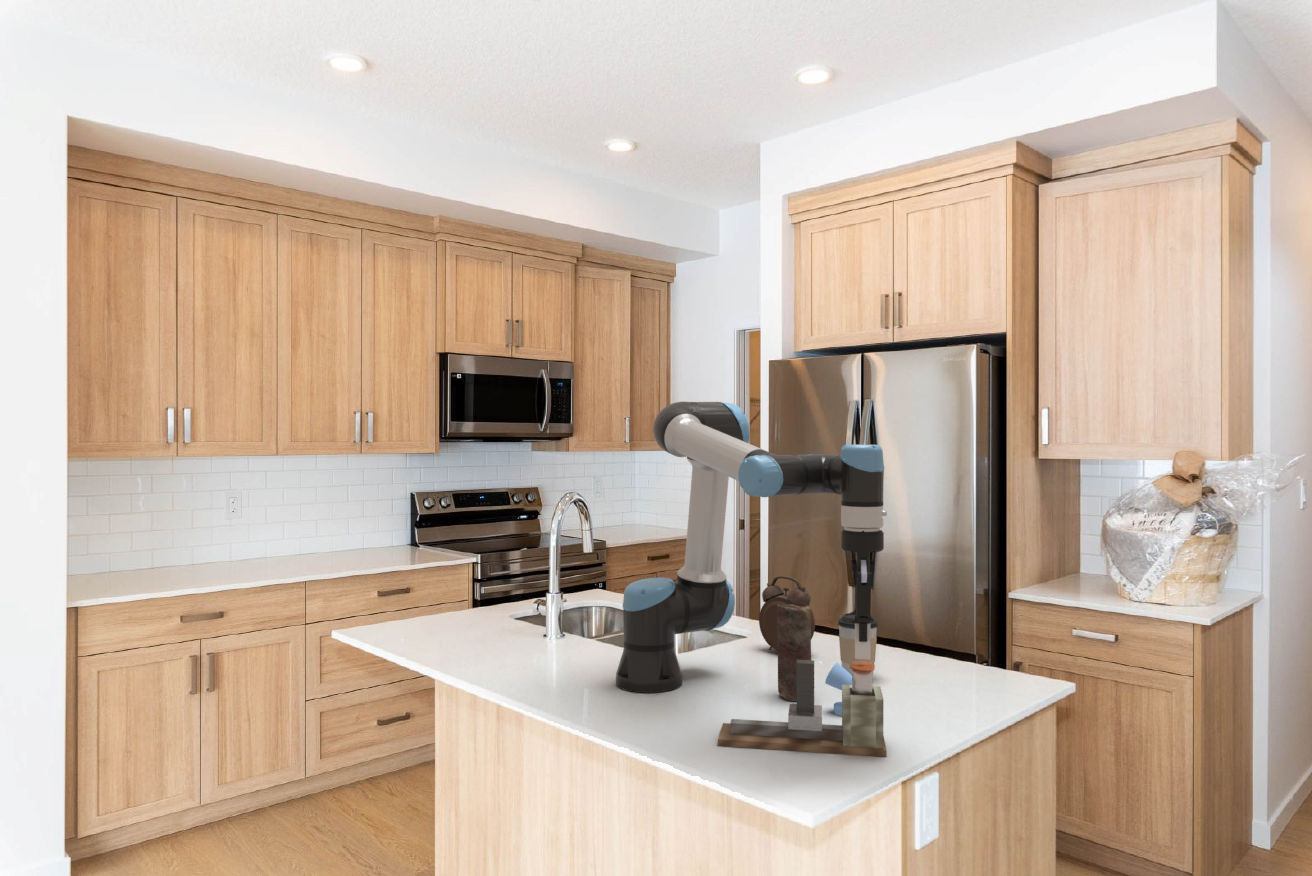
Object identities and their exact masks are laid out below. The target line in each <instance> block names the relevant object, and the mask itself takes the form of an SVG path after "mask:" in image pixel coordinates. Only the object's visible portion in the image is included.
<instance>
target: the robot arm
mask: <svg viewBox="0 0 1312 876" xmlns="http://www.w3.org/2000/svg"><path fill="white" fill-rule="evenodd" d="M749 424H750V423H749V420H748V417H747V416H746V415H745V412H744V411H743V409H742V408H741V407H740V406H738V405H736V404H734V403H732V402H731V403H730V402H724V401H677V402H673V403H670V404H668V405H666V406H664V407H663V408H662V409H661V410H660V411H659V413H657V415H656V416H655V419H654V421H653V427H652V432H653V433H652V434H653V437H654V438H653V439H654V440H655V442H656V444H657V445H658V446H659V448H661V449H662V450H663V451H664V452H666V453H668V454H671V455H672V456H673V457H674V456H675V457H678V458H686V460H687V461H688V462H689V463H690V465H691V466H692V468H691V469H692V470H691V480H690V481H691V482H690V492H689V493H690V494H689V504H688V516H687V517H688V518H687V531H686V542H685V553H684V564H683V566H682V567H681V568H679V569H678V570H677V575H676V582H675V581H674V580H673V579H671V578H669V577H659V576H658V577H649V578H643V579H639V580H636V581H634V582H631V583H629V584H628V585H627V586H626V587H625V589H624V592H623V602H622V609H623V619H622V620H623V622H622V623H623V650H622V652H621V657H620V661H619V662H618V667H617V670H616V672H615V673H616V674H615V685H616V686H617V687H619V688H620V689H622V690H626V691H628V692H635V693H662V692H668V691H672V690H675V689H677V688H680V687H681V686H682V685H683V672H682V669H681V667H680V663H679V659H678V657H677V653H676V649H675V635H681V634H687V633H695V632H703V631H704V632H706V631H708V632H709V631H711V630H713V629H719V628H722V627H724V626H726V624H727V623H729V621H730V620H731V618H732V616H733V613H734V610H735V604H736V599H735V597H736V596H735V593H733V591H734V587H732V585H731V583H730V582H729V581H728V580H727V574H726V573H725V572H724V571H723V570H722V557H723V547H724V536H725V535H724V533H725V523H726V515H727V514H726V511H727V503H728V502H727V501H728V491H729V489H728V488H729V479H730V478H731V479H733V480H735V481H738V483H739V486H740V487H741V488H742V489H743V492H744V493H745V494H747V496H751V497H761V498H771V497H781V496H782V497H783V496H797V495H818V494H819V495H823V494H824V495H825V494H826V495H827V494H828V495H839V496H840V495H841V496H840V497H841V501H840V503H841V505H840V522H841V523H840V525H841V527H842V528H844V529H842V530H841V533H840V535H841V539H840V541H841V549H842V550H843V551H845V552H850V553H852V552H853V553H855V559H850V567H851V571H852V582H853V586H854V610H853V611H854V613H855V619H852V623H855V659H871V635H870V622H871V621H873V619H874V617H871V616H872V614H871V613H872V611H871V610H872V604H871V603H872V586H873V585H874V582H873V581H874V577H873V576H874V571H875V562H874V559H871V556H870V553H879V552H882V551H883V550H884V548H885V547H884V545H885V544H884V539H885V538H884V537H885V536H884V532H883V530H882V529H881V528H883V527H884V518H883V517H887V516H888V512H887V511H886V510H884V478H885V476H884V475H885V464H884V452H883V449H882V447H881V446H880V445H878V444H844V445H843V446H842V447H841V449H840V451H841V452H840V454H828V453H827V454H826V453H810V454H775V453H773V452H770V451H767V450H764V449H763V448H760V447H758V446H755V445H753V444H751V443H749V442H750V436H751V429H750V425H749Z"/></svg>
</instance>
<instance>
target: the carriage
mask: <svg viewBox="0 0 1312 876" xmlns="http://www.w3.org/2000/svg"><path fill="white" fill-rule="evenodd" d="M795 702H796V703H789V705H788V706H789V707H788V713H787V715H788V716H787V717H788V718H787V719H788V720H787V721H788V729H794V730H810V731H822V724H823V705H821V704H820V705H819V704H815V660H812V659H811V660H797V674H796V701H795Z"/></svg>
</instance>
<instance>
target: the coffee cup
mask: <svg viewBox="0 0 1312 876" xmlns="http://www.w3.org/2000/svg"><path fill="white" fill-rule="evenodd" d="M871 617H873V615H871ZM852 619H855V613H854V610H852V611H851V612H849V613H844V614H842V616H841V617H840V618H838V621H837V622H838V623H837V625H838V630H839V633H838V638H839V639H838V641H839V652H840V661H841V662H840V663H841V666H842V667H843V668H844V669H845V670H846V671H847V672H849V673H850V674H851V675H852V669H850V662H852V661H868V662H872V663H874V664H875V662H876V653H877V652H876V651H877V638H878V637H877V629H878V620H876V619H875V618H874V617H873V621H871V622H870V635H871V659H855V623H852ZM874 670H875V669H874ZM874 670H873V671H872V681H874Z"/></svg>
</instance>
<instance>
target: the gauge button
mask: <svg viewBox="0 0 1312 876" xmlns="http://www.w3.org/2000/svg"><path fill="white" fill-rule="evenodd" d="M875 667H876V666H875V662H874V663H872V662H868V661H852V662H850V669H852V695H866V696H872V686H873V680H872V671H873V670H875ZM873 672H874V671H873Z"/></svg>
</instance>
